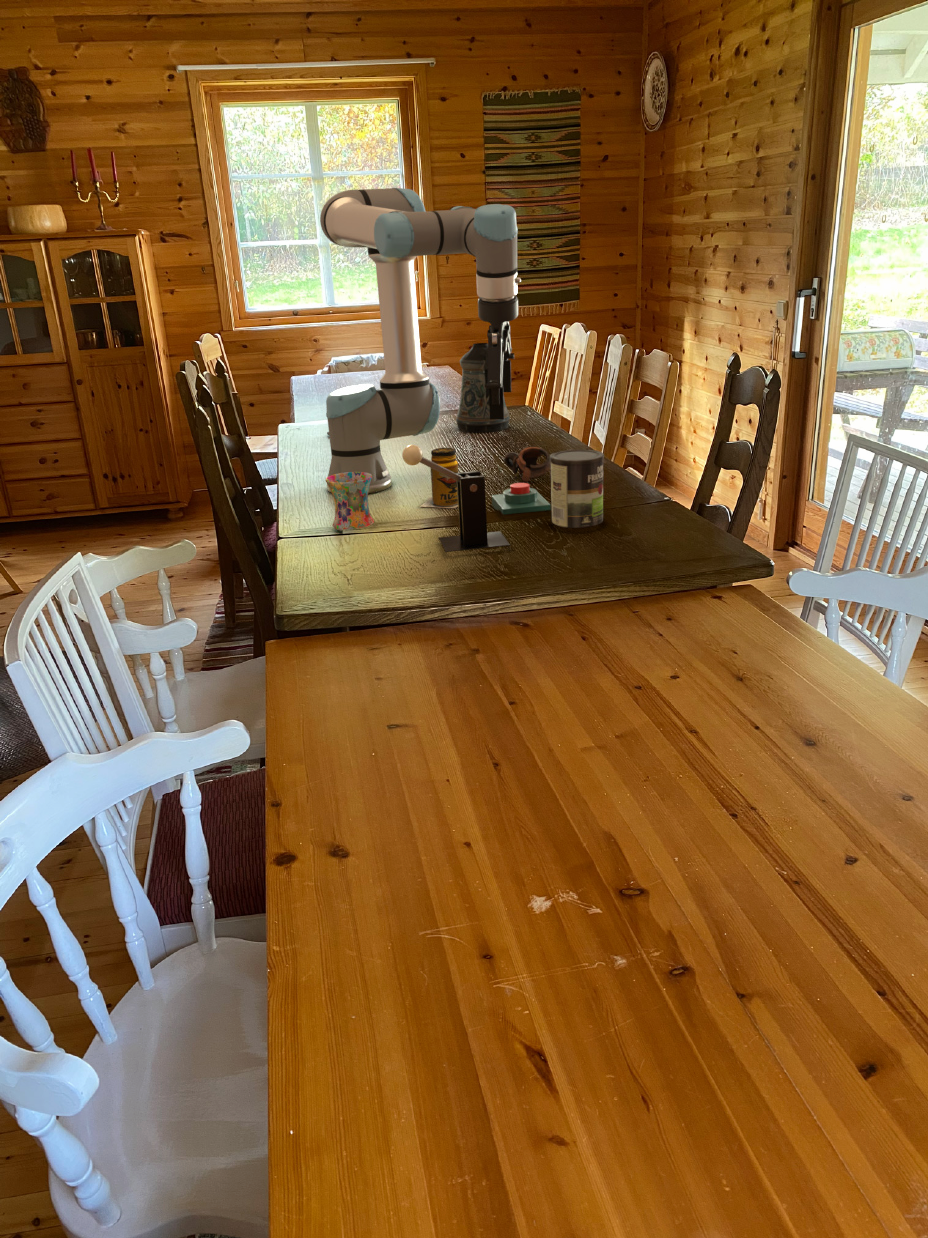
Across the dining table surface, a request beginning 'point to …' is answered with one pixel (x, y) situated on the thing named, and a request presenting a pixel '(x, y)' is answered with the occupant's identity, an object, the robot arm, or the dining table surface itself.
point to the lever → (426, 461)
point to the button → (520, 488)
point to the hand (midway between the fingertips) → (501, 404)
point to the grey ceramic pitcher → (477, 394)
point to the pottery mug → (528, 462)
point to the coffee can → (577, 488)
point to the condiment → (443, 480)
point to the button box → (519, 502)
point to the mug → (350, 499)
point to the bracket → (472, 517)
